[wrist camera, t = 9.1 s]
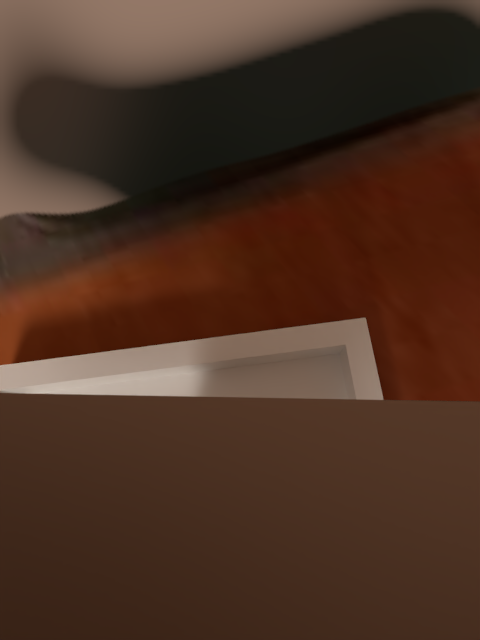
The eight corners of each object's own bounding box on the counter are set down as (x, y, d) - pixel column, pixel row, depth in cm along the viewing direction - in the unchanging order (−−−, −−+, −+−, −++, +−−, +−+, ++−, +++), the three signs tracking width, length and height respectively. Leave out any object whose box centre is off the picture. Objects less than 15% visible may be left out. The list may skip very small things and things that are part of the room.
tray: (462, 856, 15) (500, 932, 12) (-16, 909, 15) (-69, 993, 13) (353, 334, 20) (365, 317, 18) (7, 379, 21) (-27, 369, 18)
